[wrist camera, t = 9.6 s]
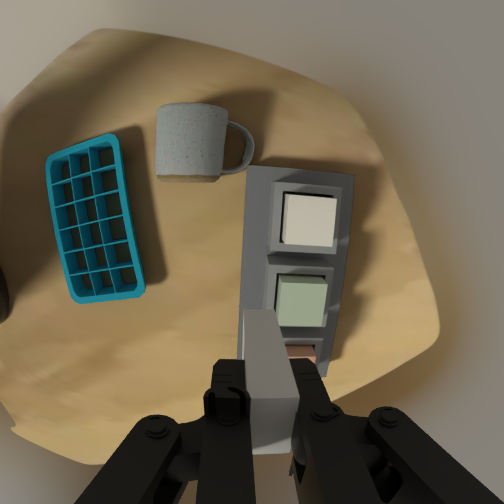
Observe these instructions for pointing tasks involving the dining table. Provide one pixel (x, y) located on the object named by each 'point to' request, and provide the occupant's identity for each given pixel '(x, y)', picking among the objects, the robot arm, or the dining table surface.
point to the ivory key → (307, 220)
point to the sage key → (300, 299)
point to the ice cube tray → (63, 227)
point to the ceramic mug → (195, 142)
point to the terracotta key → (300, 351)
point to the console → (293, 250)
